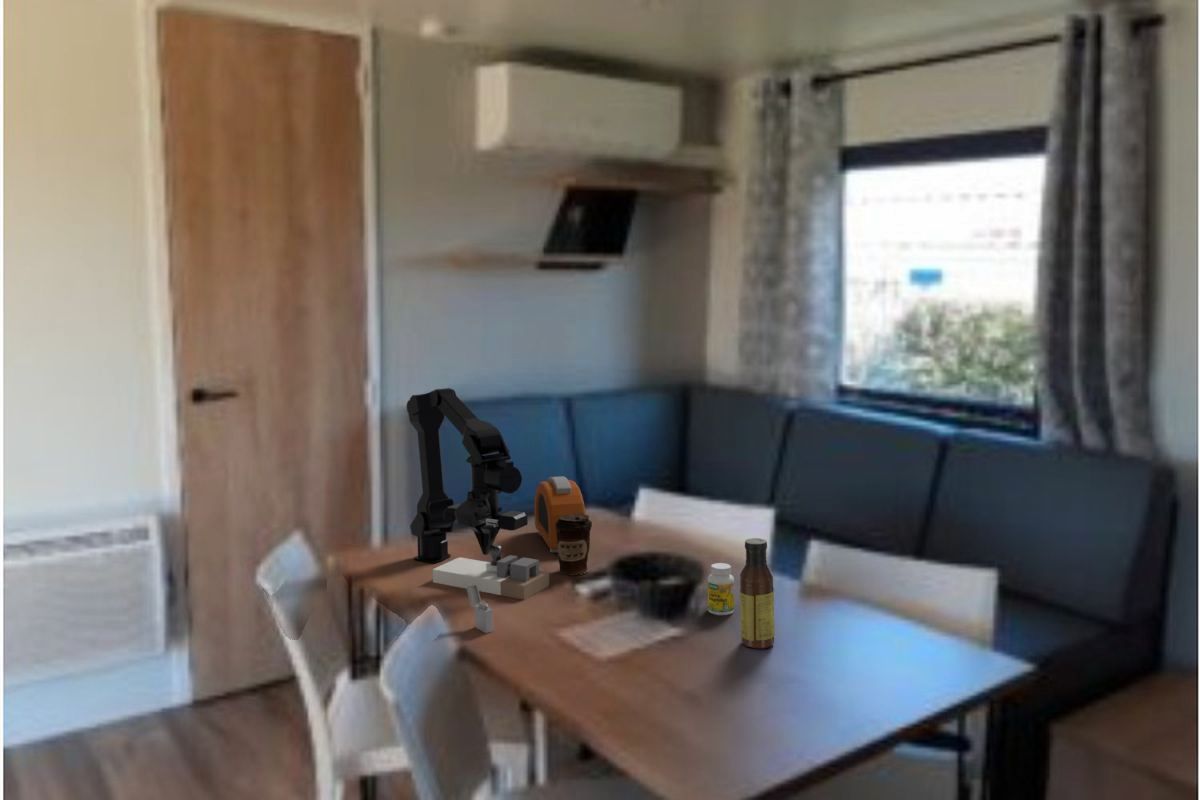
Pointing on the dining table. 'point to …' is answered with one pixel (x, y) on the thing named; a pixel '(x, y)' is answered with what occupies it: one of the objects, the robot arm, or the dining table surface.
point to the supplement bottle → (721, 590)
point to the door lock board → (495, 576)
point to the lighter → (480, 610)
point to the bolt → (496, 559)
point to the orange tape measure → (555, 506)
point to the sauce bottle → (756, 597)
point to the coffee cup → (573, 543)
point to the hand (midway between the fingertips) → (485, 554)
